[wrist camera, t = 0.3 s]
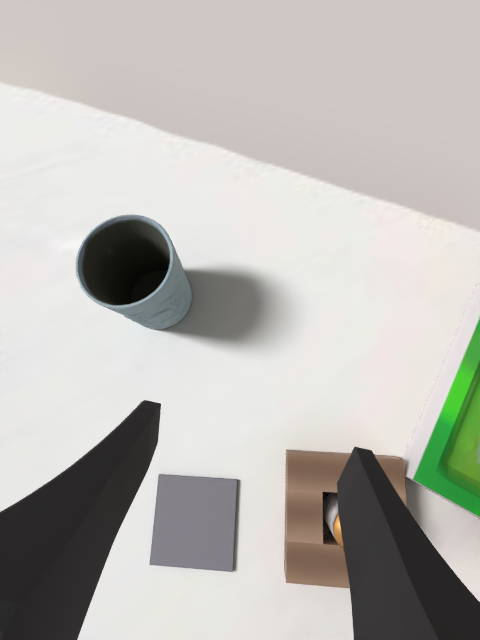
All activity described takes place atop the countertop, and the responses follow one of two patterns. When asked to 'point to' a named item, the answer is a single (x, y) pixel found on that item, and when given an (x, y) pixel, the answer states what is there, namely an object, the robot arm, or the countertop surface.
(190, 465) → the countertop surface
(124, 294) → the grey cup
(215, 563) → the mat
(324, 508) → the glass jar
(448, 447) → the tray
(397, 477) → the housing
